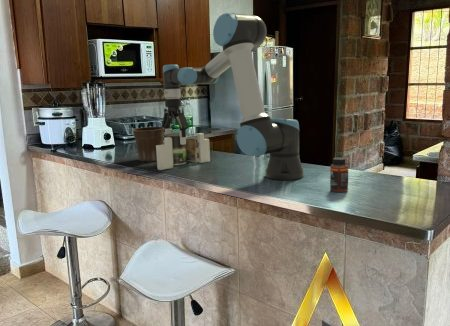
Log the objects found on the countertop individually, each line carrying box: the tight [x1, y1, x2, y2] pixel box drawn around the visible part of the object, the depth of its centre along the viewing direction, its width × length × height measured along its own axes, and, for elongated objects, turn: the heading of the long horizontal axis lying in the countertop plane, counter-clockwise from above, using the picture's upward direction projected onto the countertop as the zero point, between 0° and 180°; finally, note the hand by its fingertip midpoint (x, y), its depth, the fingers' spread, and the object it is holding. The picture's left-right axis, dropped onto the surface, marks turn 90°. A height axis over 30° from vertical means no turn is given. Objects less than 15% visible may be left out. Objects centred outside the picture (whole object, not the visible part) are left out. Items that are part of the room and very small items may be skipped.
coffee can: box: [163, 132, 188, 166], centre depth 202 cm, size 10×10×14 cm
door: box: [186, 137, 198, 162], centre depth 208 cm, size 13×3×11 cm, turn 63°
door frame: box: [156, 132, 211, 171], centre depth 197 cm, size 2×28×14 cm, turn 128°
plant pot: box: [131, 126, 165, 163], centre depth 215 cm, size 16×16×16 cm
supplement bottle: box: [329, 157, 349, 193], centre depth 143 cm, size 6×6×11 cm
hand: (175, 143), depth 202 cm, fingers open, 13 cm apart
